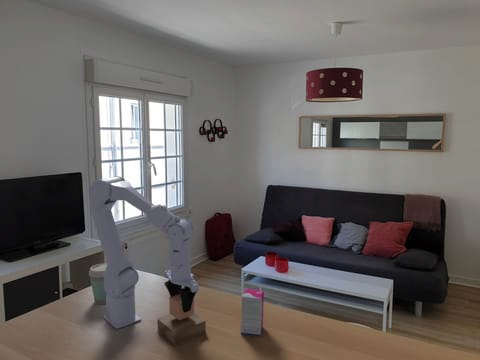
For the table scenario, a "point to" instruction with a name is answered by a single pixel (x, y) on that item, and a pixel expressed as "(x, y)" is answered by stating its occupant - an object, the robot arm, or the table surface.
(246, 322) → the supplement box
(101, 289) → the coffee cup
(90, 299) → the table surface
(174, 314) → the terracotta cube
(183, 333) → the walnut block
